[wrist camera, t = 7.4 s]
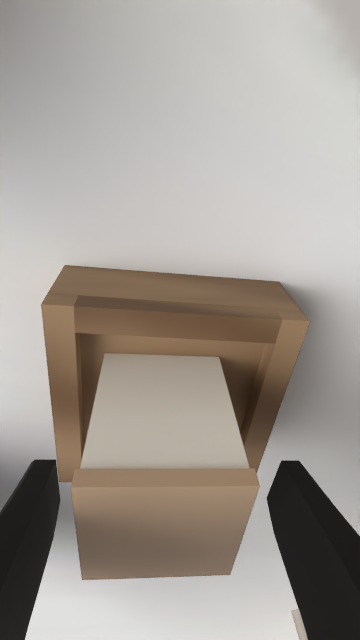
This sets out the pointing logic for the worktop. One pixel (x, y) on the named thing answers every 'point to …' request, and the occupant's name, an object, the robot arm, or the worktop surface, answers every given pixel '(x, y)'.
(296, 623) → the braced shelf unit
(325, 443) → the worktop surface
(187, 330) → the wooden square tray
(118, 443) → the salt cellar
